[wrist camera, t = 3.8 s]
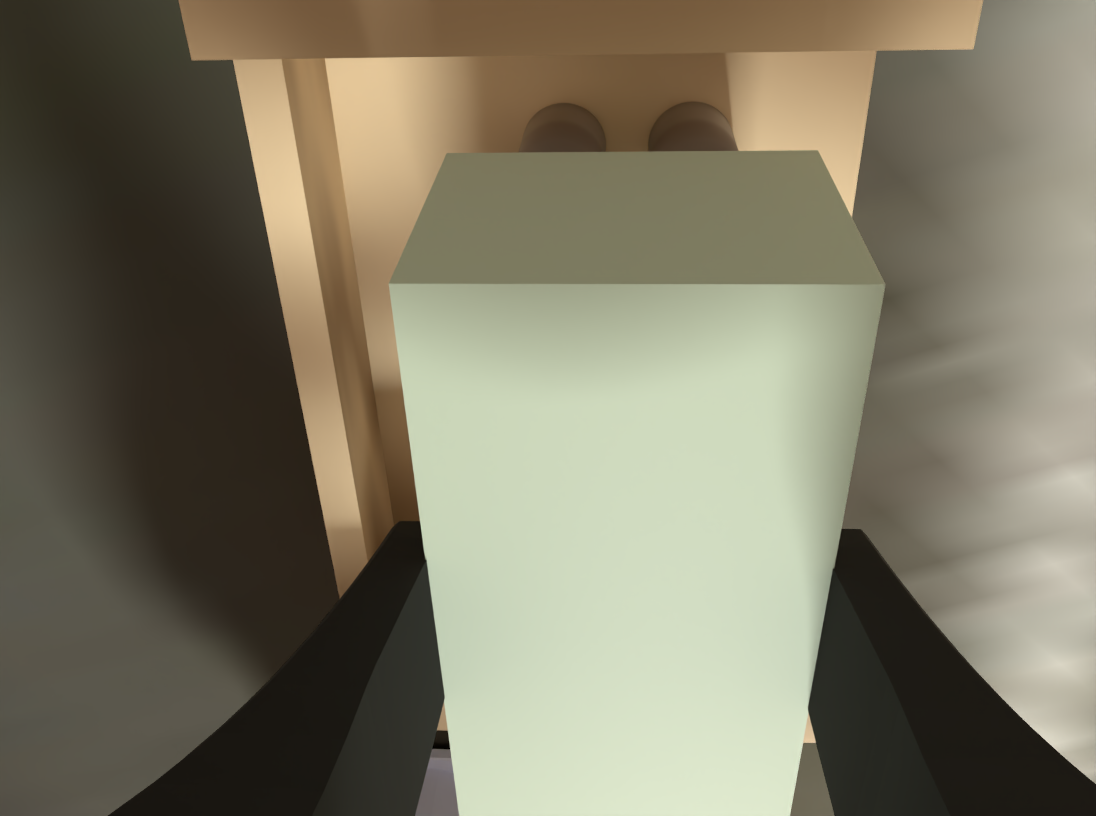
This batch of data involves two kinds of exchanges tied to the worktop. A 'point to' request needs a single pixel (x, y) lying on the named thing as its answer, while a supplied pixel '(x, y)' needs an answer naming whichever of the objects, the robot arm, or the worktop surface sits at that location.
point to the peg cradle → (499, 127)
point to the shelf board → (632, 467)
